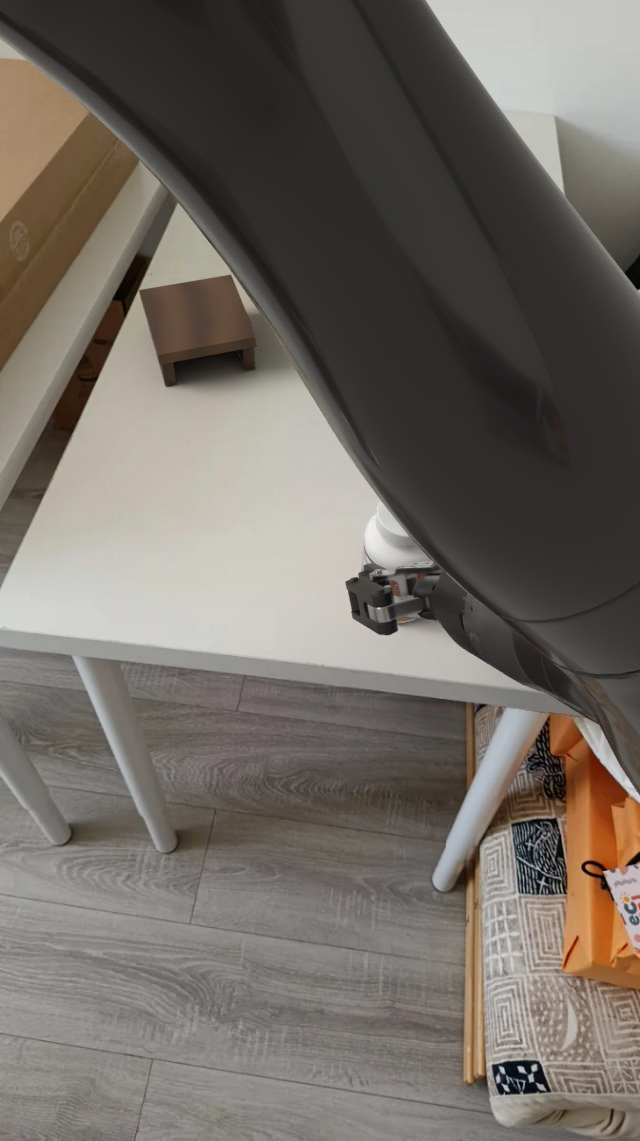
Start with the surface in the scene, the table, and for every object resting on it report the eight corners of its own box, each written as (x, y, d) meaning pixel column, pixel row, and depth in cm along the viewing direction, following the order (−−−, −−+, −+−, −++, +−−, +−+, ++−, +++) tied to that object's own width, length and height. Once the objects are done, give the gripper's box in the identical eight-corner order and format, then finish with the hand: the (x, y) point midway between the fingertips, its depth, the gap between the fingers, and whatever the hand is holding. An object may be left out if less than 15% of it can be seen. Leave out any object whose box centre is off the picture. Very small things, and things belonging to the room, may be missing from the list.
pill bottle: (441, 579, 66) (463, 494, 57) (418, 636, 63) (436, 556, 54) (374, 555, 68) (384, 469, 59) (347, 610, 64) (354, 528, 55)
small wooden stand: (164, 390, 80) (157, 355, 76) (146, 325, 86) (138, 289, 82) (258, 372, 81) (256, 336, 78) (234, 309, 87) (231, 274, 84)
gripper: (648, 506, 40) (508, 491, 56) (391, 569, 38) (320, 535, 54) (664, 641, 42) (523, 590, 57) (418, 711, 39) (341, 637, 55)
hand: (425, 564), depth 56 cm, fingers open, 8 cm apart
